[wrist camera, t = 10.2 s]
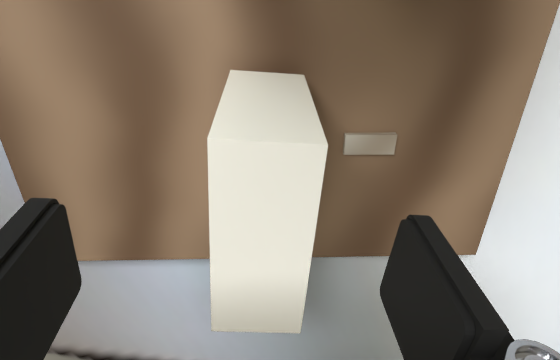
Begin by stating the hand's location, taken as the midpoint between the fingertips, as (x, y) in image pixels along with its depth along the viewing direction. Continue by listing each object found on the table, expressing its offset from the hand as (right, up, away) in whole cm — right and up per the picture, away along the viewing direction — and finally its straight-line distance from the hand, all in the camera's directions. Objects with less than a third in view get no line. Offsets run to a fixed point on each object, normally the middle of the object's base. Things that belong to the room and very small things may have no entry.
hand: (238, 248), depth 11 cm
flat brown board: (0, +4, +8) cm, 9 cm away
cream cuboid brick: (0, +2, +7) cm, 7 cm away
